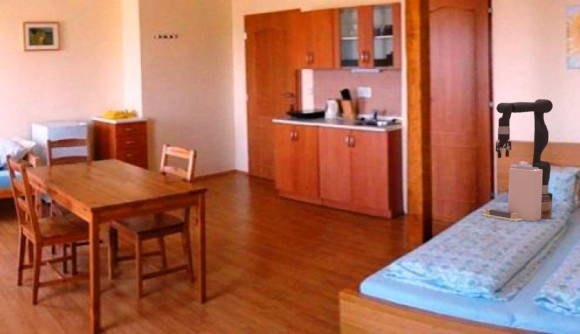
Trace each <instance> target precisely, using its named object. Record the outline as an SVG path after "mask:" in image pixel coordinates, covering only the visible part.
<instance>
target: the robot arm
mask: <svg viewBox="0 0 580 334" xmlns="http://www.w3.org/2000/svg"><path fill="white" fill-rule="evenodd" d="M553 105H554V104H553V102H552V101H551V100H550V99H545V98H543V99H542V98H539V99H536V100H535V101H532V102H528V101H516V102H500V103H498V104H497V105H496V109H495V110H496V111H497V113H499V114H502V116H500V117H499V118H498V122H497V123H498V127H497V128H498V129H497V141H498V142H496V143H495V152H496V153H497V159H501V158H502V152H503V150H504V151H505V154H504V155H505V156H504V157H507V158H509V157H510V151H512V141H511V140H510V138H511V127H510V126H511V124H510V122H511V121H510V120H511V117H512V114H519V113H521V114H522V113H530V112H531V113H532V112H533V118H534V128H533V129H534V131H533V133H534V134H533V155H532V163H531V167H537V168H539V169H541V170H543V174H542V192H545V193H549V183H550V177H551V167H552V166H551V163H550V162H549V161H544V160H541V159H542V154H543V151H544V150H545V148H547V146H548V144H549V136H550V135H549V134H550V132H549V130H548V126H547V124H546V122H545V118H544V117H545V116H544V115H545V114H548V113H550V112H551V111H552V109H553V107H554V106H553Z"/></svg>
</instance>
